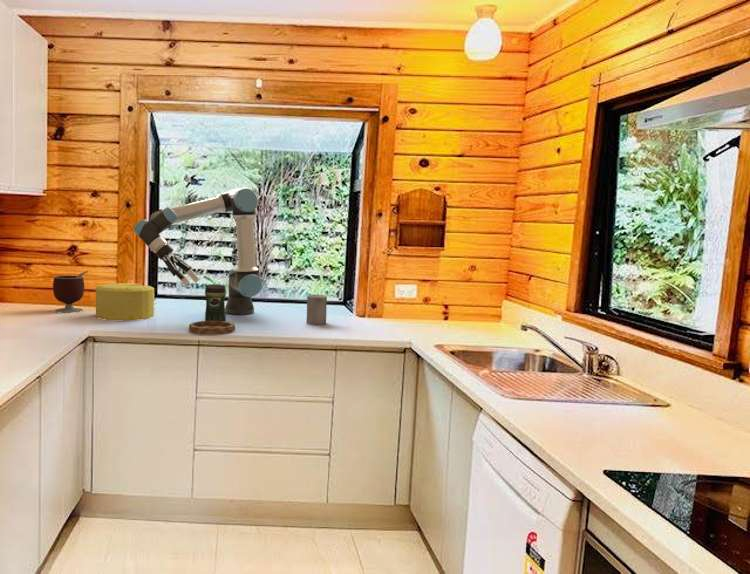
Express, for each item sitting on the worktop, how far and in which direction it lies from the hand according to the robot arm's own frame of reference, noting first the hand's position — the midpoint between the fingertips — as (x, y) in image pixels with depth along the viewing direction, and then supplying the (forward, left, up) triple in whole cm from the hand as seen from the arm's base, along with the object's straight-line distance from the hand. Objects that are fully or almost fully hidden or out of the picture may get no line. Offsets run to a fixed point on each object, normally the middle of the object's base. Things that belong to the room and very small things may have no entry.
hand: (193, 282), depth 279 cm
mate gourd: (+50, -47, -19) cm, 71 cm away
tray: (-4, +21, -19) cm, 28 cm away
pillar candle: (-56, +15, -19) cm, 61 cm away
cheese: (+27, -25, -19) cm, 41 cm away
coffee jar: (-9, +5, -19) cm, 22 cm away
